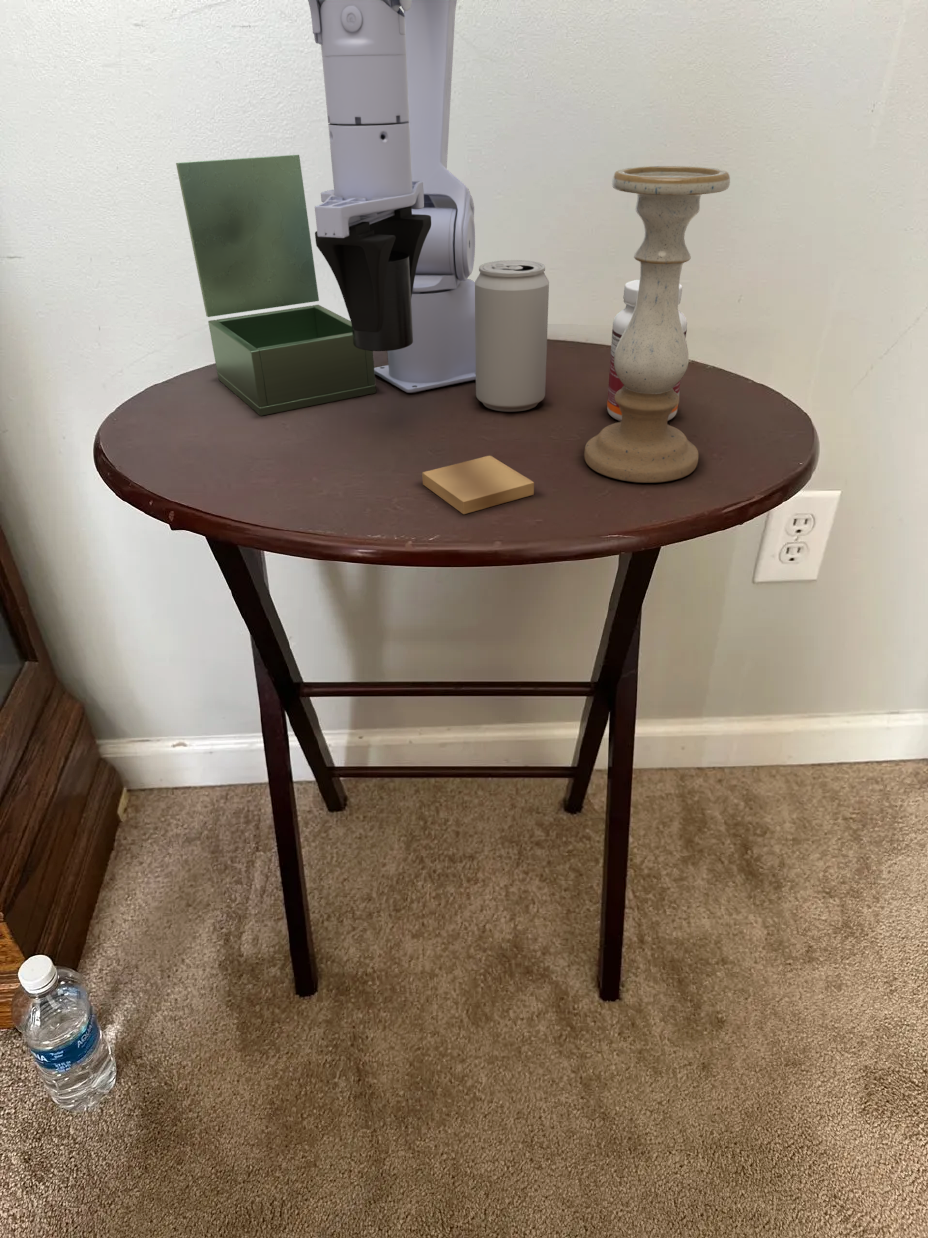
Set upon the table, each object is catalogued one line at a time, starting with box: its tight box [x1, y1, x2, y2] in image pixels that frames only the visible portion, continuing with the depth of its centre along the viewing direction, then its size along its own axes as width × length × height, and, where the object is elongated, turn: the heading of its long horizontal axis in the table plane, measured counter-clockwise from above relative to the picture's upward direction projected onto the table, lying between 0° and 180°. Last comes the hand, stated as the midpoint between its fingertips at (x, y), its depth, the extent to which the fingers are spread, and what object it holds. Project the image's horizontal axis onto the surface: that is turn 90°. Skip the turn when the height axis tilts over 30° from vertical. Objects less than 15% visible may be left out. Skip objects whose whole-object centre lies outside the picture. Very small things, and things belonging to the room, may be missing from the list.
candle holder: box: [583, 165, 731, 484], centre depth 61 cm, size 9×9×20 cm
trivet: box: [421, 455, 535, 515], centre depth 62 cm, size 6×6×1 cm
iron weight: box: [351, 251, 413, 352], centre depth 66 cm, size 5×5×6 cm
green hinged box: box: [207, 304, 377, 417], centre depth 82 cm, size 13×12×6 cm
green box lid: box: [175, 154, 320, 318], centre depth 81 cm, size 13×12×1 cm
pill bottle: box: [606, 279, 688, 422], centre depth 72 cm, size 6×6×11 cm
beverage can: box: [474, 259, 550, 413], centre depth 75 cm, size 6×6×12 cm
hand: (382, 321), depth 67 cm, fingers closed on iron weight, 5 cm apart
